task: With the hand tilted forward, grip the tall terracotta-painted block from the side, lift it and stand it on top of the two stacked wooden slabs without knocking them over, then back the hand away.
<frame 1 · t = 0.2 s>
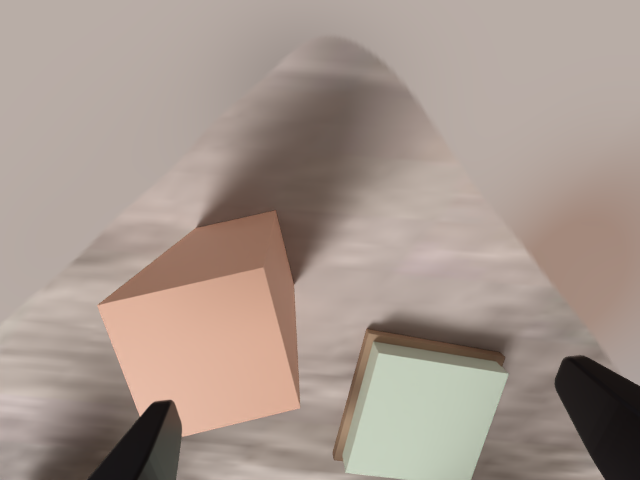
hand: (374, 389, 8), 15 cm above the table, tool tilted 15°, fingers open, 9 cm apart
tower base slab: (411, 395, 27), on the table
tall block: (246, 257, 23), on the table
tower top slab: (418, 408, 26), point 1 cm above the table
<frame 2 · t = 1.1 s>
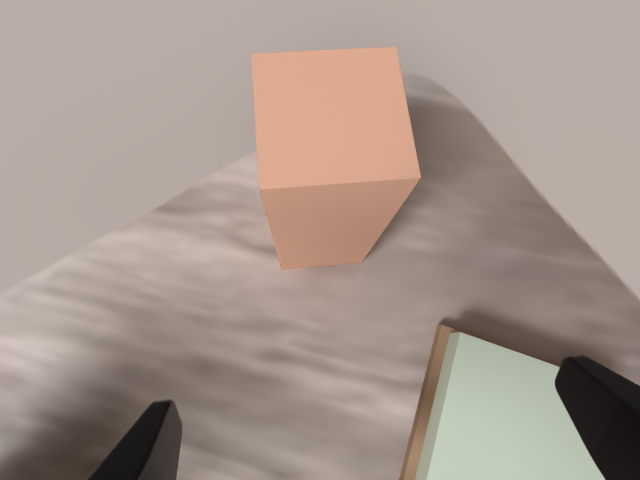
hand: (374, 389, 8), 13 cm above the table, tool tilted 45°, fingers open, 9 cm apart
tower base slab: (495, 439, 21), on the table, touching tower top slab
tall block: (318, 227, 23), on the table
tower top slab: (510, 442, 20), point 1 cm above the table, touching tower base slab
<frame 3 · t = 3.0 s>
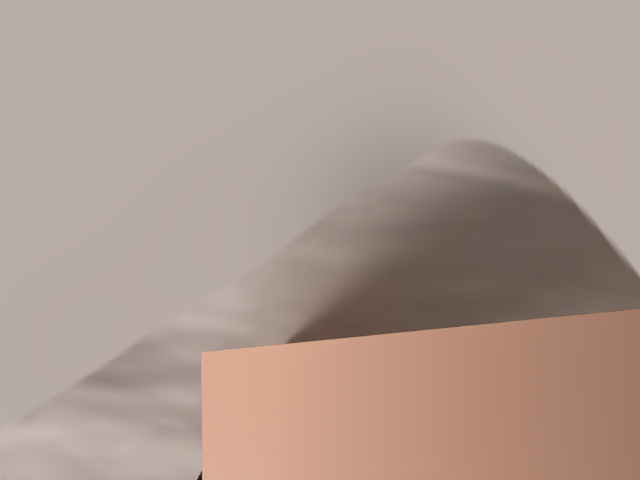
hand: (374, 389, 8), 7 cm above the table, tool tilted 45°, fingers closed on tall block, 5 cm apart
tall block: (348, 409, 14), on the table, touching gripper
when the fingers open (10 cm above the table, at t = 6.7 s): tall block moves 1 cm, resting on tower top slab.
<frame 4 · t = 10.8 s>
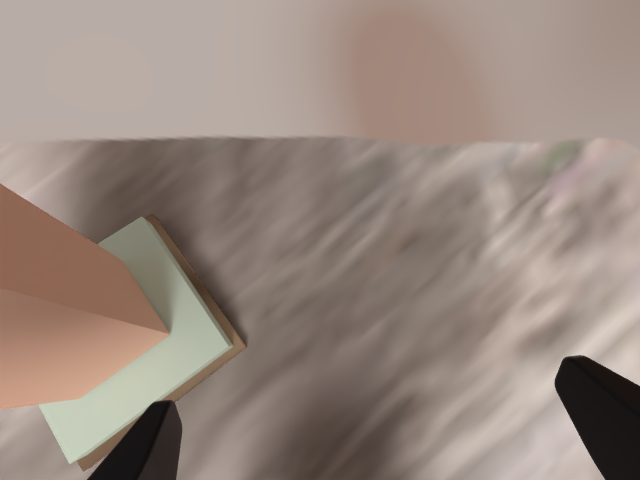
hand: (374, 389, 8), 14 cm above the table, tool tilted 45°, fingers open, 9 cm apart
tower base slab: (132, 331, 22), on the table, touching tower top slab
tall block: (103, 325, 19), point 2 cm above the table, touching tower top slab
tower top slab: (122, 329, 21), point 1 cm above the table, touching tall block, tower base slab
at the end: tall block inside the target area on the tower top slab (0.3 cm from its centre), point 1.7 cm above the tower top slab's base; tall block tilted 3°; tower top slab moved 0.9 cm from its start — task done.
